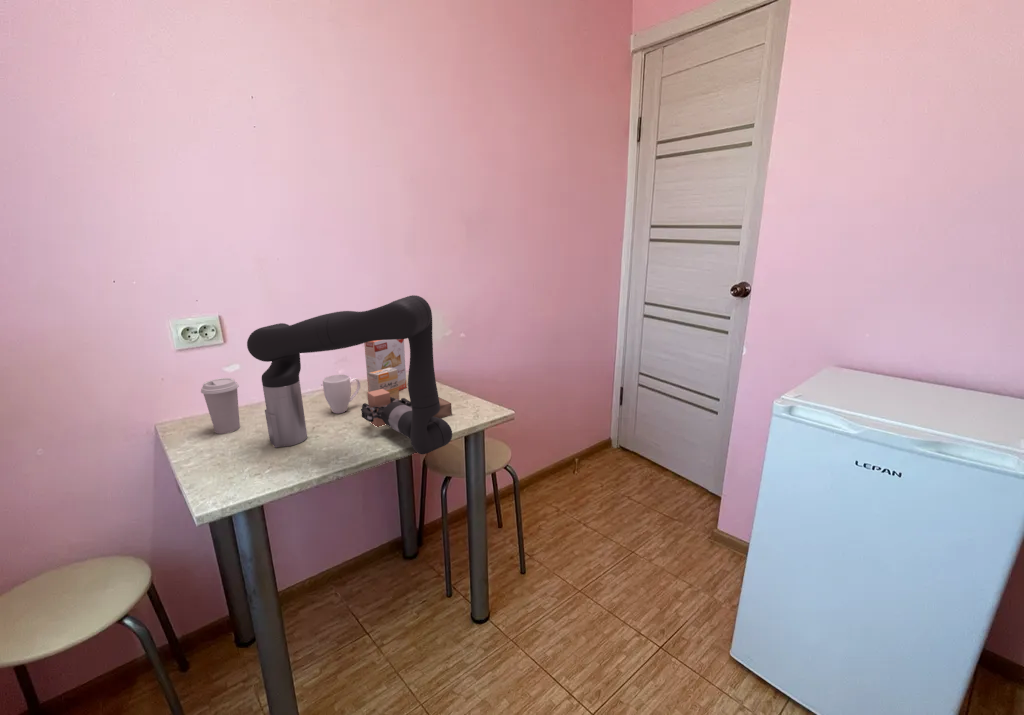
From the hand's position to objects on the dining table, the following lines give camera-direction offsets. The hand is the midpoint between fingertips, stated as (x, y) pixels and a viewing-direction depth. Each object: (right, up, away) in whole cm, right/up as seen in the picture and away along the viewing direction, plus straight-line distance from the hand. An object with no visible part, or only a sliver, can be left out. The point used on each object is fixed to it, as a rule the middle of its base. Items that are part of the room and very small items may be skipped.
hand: (376, 403), depth 143 cm
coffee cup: (-44, -8, -3) cm, 45 cm away
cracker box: (-4, +1, +29) cm, 29 cm away
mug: (-14, -3, +12) cm, 19 cm away
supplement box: (0, -3, +13) cm, 13 cm away
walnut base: (+15, -4, +6) cm, 17 cm away
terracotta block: (+1, -6, 0) cm, 6 cm away
